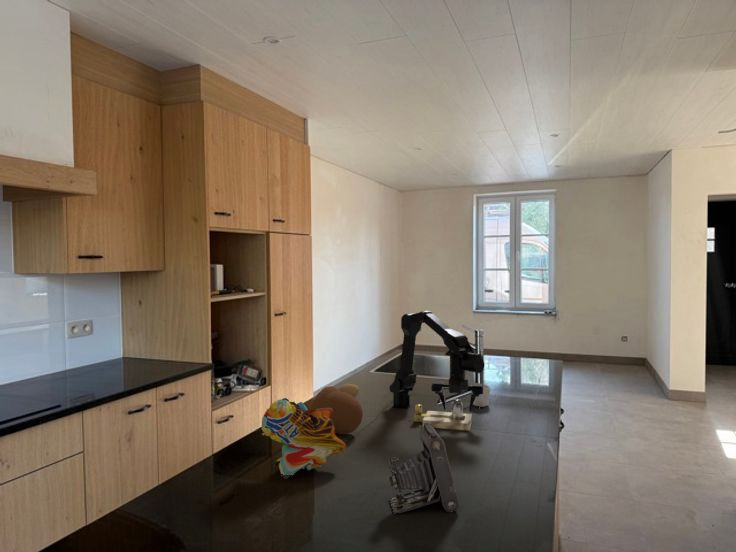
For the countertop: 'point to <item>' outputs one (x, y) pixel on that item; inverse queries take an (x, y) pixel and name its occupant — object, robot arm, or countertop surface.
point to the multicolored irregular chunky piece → (301, 435)
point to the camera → (424, 476)
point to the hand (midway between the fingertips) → (457, 410)
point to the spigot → (457, 409)
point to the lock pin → (419, 413)
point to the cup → (483, 397)
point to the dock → (448, 421)
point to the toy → (340, 407)
